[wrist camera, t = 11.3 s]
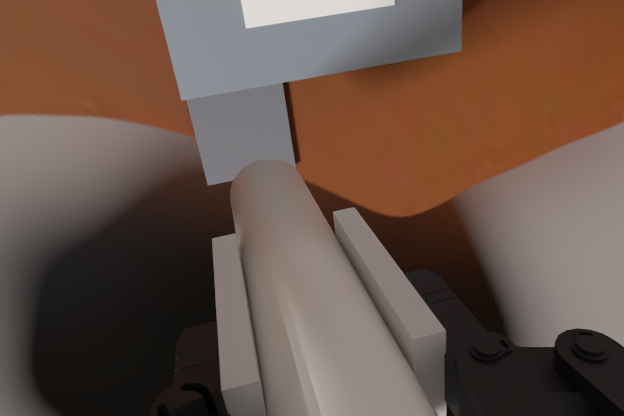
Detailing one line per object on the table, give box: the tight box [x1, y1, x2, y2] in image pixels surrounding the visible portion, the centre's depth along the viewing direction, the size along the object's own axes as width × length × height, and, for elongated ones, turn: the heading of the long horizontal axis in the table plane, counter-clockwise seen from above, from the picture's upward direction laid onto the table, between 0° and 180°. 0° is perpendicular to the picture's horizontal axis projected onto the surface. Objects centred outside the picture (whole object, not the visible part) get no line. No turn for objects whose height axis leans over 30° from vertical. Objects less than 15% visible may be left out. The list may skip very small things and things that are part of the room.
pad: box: [187, 83, 296, 185], centre depth 30 cm, size 6×6×1 cm
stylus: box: [230, 159, 438, 416], centre depth 13 cm, size 4×4×18 cm
